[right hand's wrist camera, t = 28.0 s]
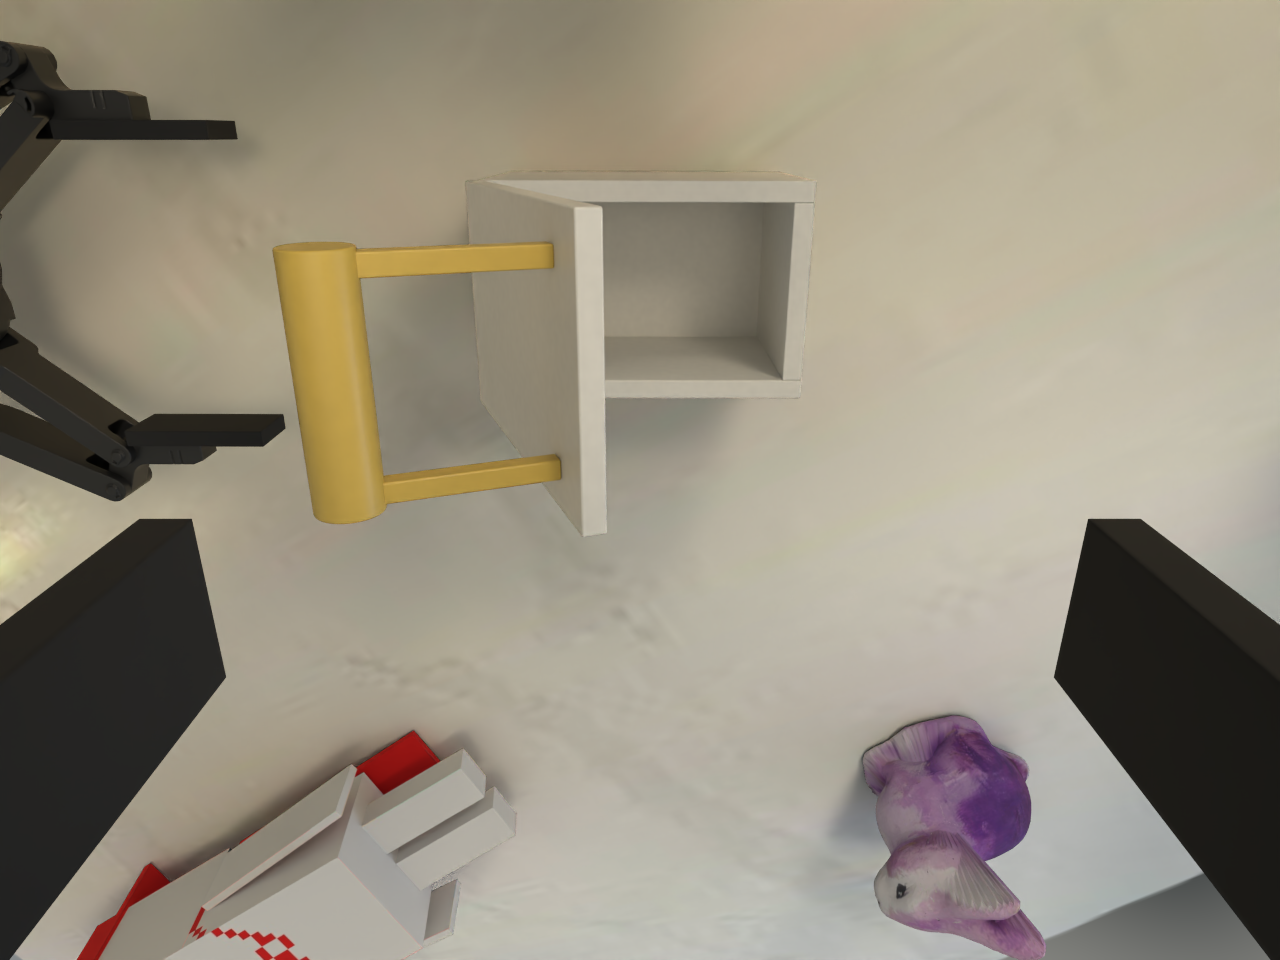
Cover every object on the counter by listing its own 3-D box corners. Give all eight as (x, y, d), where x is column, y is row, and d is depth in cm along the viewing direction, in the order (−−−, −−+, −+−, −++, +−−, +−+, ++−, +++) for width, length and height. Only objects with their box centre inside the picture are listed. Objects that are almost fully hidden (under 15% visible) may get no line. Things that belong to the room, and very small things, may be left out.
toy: (538, 916, 52) (138, 1145, 54) (538, 778, 65) (214, 967, 67) (423, 780, 48) (-4, 1031, 50) (446, 662, 61) (105, 866, 63)
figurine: (828, 784, 61) (884, 978, 47) (922, 684, 57) (1012, 860, 43) (929, 841, 62) (1012, 1043, 49) (1025, 747, 59) (1144, 934, 45)
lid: (603, 206, 22) (264, 215, 20) (607, 534, 26) (321, 581, 23) (484, 180, 36) (271, 183, 33) (497, 400, 39) (307, 420, 36)
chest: (779, 171, 45) (817, 180, 36) (769, 348, 49) (800, 399, 39) (510, 171, 45) (476, 179, 36) (519, 347, 49) (490, 398, 39)
